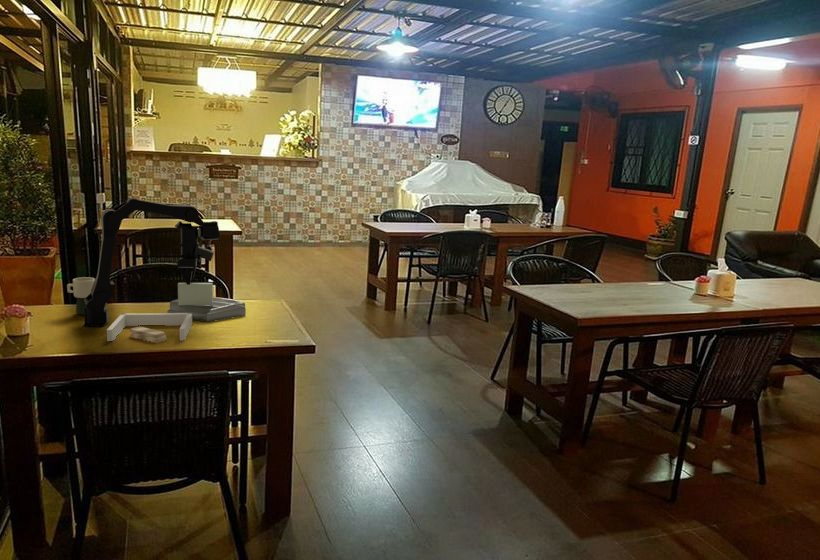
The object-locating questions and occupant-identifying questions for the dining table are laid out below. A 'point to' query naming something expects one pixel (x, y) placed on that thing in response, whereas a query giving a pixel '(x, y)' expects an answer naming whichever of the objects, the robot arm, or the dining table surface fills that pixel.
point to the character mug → (81, 291)
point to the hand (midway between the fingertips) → (190, 282)
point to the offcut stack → (148, 334)
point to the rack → (151, 322)
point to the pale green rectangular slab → (195, 294)
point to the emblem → (211, 309)
